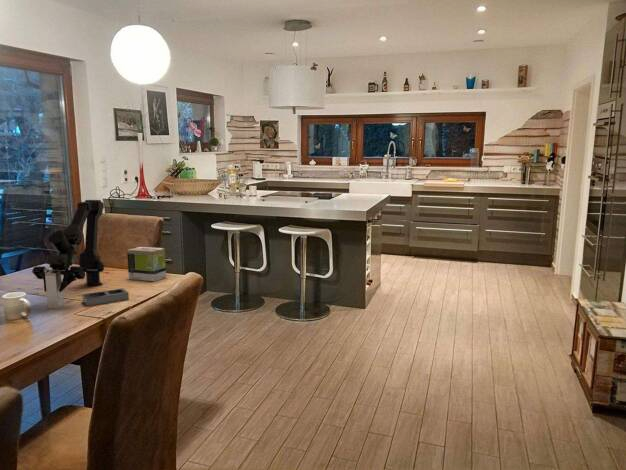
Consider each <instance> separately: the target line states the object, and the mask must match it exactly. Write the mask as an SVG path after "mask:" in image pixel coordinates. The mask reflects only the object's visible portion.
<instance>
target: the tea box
mask: <svg viewBox="0 0 626 470" xmlns="http://www.w3.org/2000/svg"><path fill="white" fill-rule="evenodd" d="M165 250H166V249H165V248H164V247H148V246H138V247H135V248H134V247H133V248H130V249H129V248H128V249H126V256H127V271H128V273H127V274H128V279H129V280H136V281H148V282H157V281H159V280H162V279H165V278H166V277H167V271H166V270H167V268H166V267H167V266H166V265H167V263H166V251H165Z"/></svg>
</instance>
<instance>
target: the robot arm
mask: <svg viewBox="0 0 626 470" xmlns="http://www.w3.org/2000/svg"><path fill="white" fill-rule="evenodd" d="M104 207H105V206H104V202H103V201H102V200H101V199H86V200H85V201H79V202H78V203H77V207H76V210H75V212H74V215H73V217H72V219H71V222H70V225H69V226H67V227H66V228H64V229H63V230H62V229H61V230H59V229H57V230H56V231H55V232H54V233H52V234H51V235H49V236H48V242H49V243H50V244H51V246H52V247H53V249H54V250H55V251H57V252H58V253H57V254H56V255H54V254H53V255H46V259H45V260H46V261H45V264H46V265H49V268H51V269H48V268H47V267H45V266H41V265H40V266H39V265H38V266H37V265H36V266H34V267H33V268H32V271H31V273H32V274H33V275H34V276H35V277H36V279H38V280H43V289H44V290H43V291H44V292H45V293H47V291H46V279H45V273H47V272H49V271H61V276H62V279H61V281H62V283H61V285H60V288H59V291H60V292H61V291H62V292H63V291H64V290H65V289H66V288H67V287H68V286H69V285H70V284H71V283H73V282H75V281H77V280H84V279H86V281H85V282H84V285H85V286H87V287H95V286H101V285H103V282H101V277H100V273H102V272H104V270H105V265H104V264H103V262H102V261H101V255H100V254H99V253H98V249H97V247H98V244H97V243H98V232H99V231H98V227H99V219H100V217H102V215H103V212H104V209H105V208H104ZM85 222H86V224H85ZM84 226H85V243H84V244H85V245H84V250H83V252H80V254H79V261H78V266H74V265H73V263H72V261H73V258H74V256H75V255H77V254H78V253H77V252H78V251H77V250H76V248H75V246H80V245H81V243H82V242H83V237H84V234H83V232H82V231H83V228H84Z"/></svg>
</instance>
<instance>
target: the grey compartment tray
mask: <svg viewBox="0 0 626 470" xmlns="http://www.w3.org/2000/svg"><path fill="white" fill-rule="evenodd" d="M81 296H82V302H83V304H84V305H85V306H86V305H87V306H86V307H91V306H97V305H98V306H99V305H102V304H103V305H104V304H109V303H116V302H121V301H126V300H127V301H128V300H129V299H130V297H129V292H128V291H127V290H126V289H125V288H123V287H122V288H115V289H109V290H102V291H96V292H95V291H94V292H90V293H89V292H88V293H83V294H82V295H81Z"/></svg>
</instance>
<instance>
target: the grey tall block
mask: <svg viewBox="0 0 626 470" xmlns="http://www.w3.org/2000/svg"><path fill="white" fill-rule="evenodd" d="M45 279H46V291H47V292H46V301H47V309H60V308H61V307H64V296H63V291H61V292H60V291H59V288H60V285H61V283H62V275H61V271H49V272H47V273H45Z"/></svg>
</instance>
